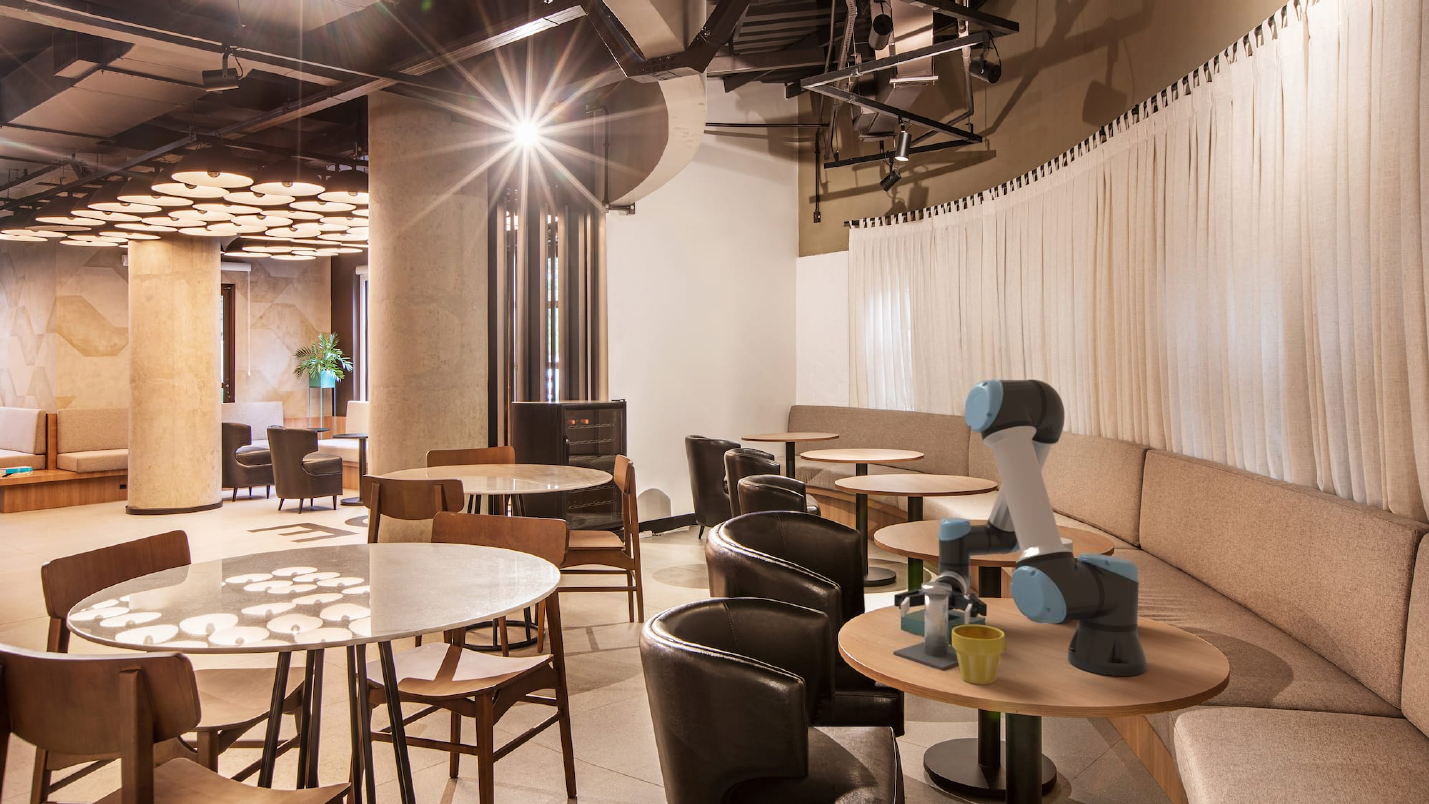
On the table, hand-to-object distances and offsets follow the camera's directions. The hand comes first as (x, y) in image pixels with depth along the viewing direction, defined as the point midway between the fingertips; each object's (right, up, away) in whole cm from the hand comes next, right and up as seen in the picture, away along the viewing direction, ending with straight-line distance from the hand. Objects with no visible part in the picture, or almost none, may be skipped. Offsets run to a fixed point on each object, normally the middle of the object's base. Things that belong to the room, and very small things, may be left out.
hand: (933, 614), depth 184 cm
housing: (+8, -9, +21) cm, 24 cm away
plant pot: (+6, -11, -11) cm, 16 cm away
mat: (+1, -10, +3) cm, 11 cm away
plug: (+1, -9, +3) cm, 10 cm away
